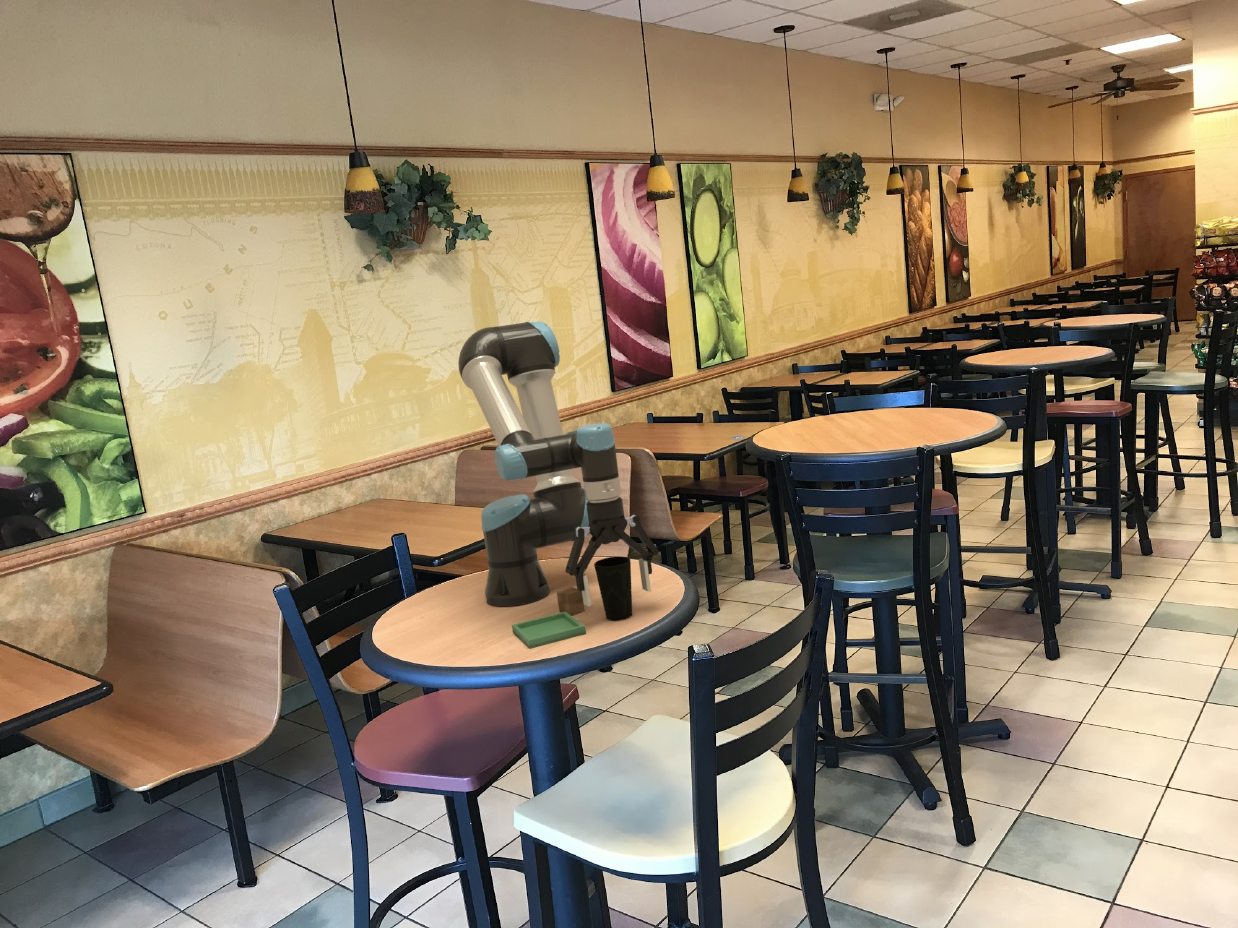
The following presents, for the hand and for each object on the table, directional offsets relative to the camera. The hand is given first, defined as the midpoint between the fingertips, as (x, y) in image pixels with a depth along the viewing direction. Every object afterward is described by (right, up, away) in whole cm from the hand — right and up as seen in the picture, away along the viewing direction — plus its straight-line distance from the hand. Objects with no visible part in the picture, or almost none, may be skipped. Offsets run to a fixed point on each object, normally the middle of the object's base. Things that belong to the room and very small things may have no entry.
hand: (617, 597), depth 197 cm
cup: (0, -4, +1) cm, 4 cm away
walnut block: (-10, -4, +8) cm, 13 cm away
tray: (-14, -7, -4) cm, 16 cm away
